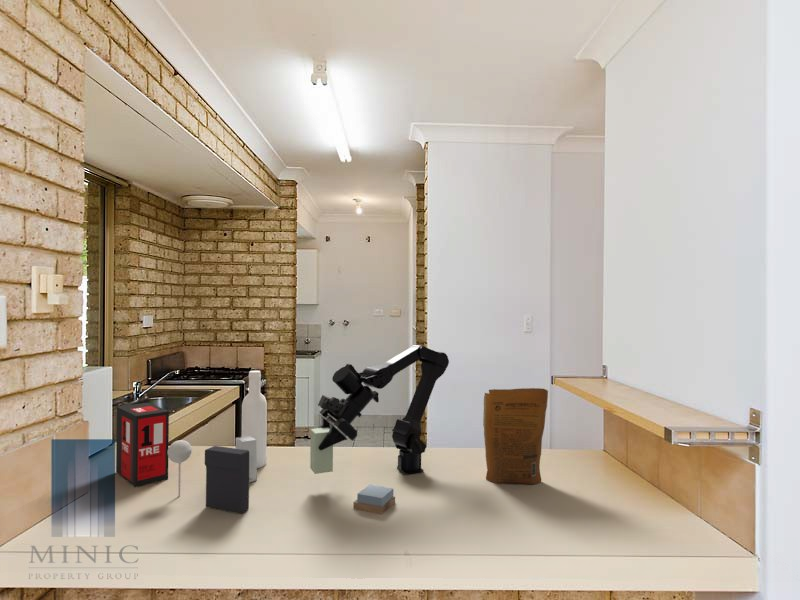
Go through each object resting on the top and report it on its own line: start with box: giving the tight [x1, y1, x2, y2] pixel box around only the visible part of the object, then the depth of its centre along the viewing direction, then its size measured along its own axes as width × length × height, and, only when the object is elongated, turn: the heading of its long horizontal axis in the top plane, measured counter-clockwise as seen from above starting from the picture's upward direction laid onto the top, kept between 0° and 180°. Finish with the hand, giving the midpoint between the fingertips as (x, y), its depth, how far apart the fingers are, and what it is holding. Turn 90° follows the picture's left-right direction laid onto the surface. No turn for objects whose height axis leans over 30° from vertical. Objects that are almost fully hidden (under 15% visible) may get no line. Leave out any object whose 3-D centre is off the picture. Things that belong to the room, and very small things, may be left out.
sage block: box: [309, 427, 334, 475], centre depth 137 cm, size 5×5×11 cm
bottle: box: [241, 370, 268, 469], centre depth 157 cm, size 8×8×30 cm
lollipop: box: [167, 439, 193, 498], centre depth 132 cm, size 6×6×15 cm
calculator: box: [204, 445, 250, 515], centre depth 125 cm, size 11×4×15 cm, turn 71°
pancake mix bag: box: [482, 387, 549, 485], centre depth 145 cm, size 7×19×28 cm, turn 87°
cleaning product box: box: [115, 402, 170, 488], centre depth 147 cm, size 16×9×20 cm, turn 46°
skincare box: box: [235, 436, 258, 483], centre depth 145 cm, size 6×4×12 cm
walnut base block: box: [352, 495, 396, 515], centre depth 128 cm, size 8×8×2 cm
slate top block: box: [356, 484, 394, 507], centre depth 127 cm, size 7×7×2 cm
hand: (316, 446), depth 136 cm, fingers closed on sage block, 5 cm apart
